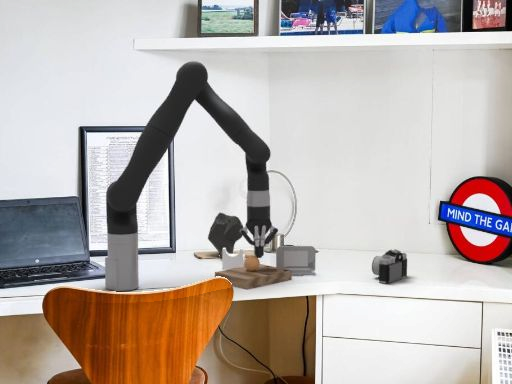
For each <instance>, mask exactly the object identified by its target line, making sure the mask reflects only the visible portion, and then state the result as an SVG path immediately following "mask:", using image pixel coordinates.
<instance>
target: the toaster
mask: <svg viewBox="0 0 512 384" xmlns="http://www.w3.org/2000/svg"><path fill="white" fill-rule="evenodd" d="M275 254H276V255H275V267H277V268H282V269H287V270H292V277H296V276H301V277H302V276H303V277H304V276H316V256H317V255H316V248H315V247H314V246H312V245H280V246H278V247H277V248H276V251H275Z"/></svg>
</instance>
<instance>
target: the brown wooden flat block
mask: <svg viewBox="0 0 512 384" xmlns="http://www.w3.org/2000/svg"><path fill="white" fill-rule="evenodd" d="M216 276H221V277H225V278H227V279H228V280H229V281H230V282H231V283H232V285H233V286H232V287H236V288H241V289H245V290H250V289H255V288H258V287H264V286H269V285H273V284H278V283H283V282H286V281H291V280H292V279H293V278H292V277H293V276H292V270H287V269H282V268H277V267H276V266H272V265H266V264H261V263H260V265H259V268H258V269H257V270H255V271H249V270H247V269H246V268H245V266H243V267H240V268H233V269H229V270H220V271H214V278H215V277H216Z"/></svg>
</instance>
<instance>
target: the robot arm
mask: <svg viewBox="0 0 512 384" xmlns="http://www.w3.org/2000/svg"><path fill="white" fill-rule="evenodd" d="M208 78H209V74H208V69H207V67H205V65H204V64H203V63H201V62H199V61H196V60H195V61H194V60H193V61H188V62H185V63H184V64H182V65H181V66H180V67H179V68H178V70H177V72H176V75H175V81H174V83H173V85H172V87H171V89H170V92H169V93H168V95H167V96H166V98H165V99H164V100H163V102H162V103H161V104H160V105H159V107H158V108H157V109H156V110H155V112H153V114H152V115H151V117H150V119H148V122H147V123H146V125H145V127H144V129H143V130H142V132H141V133H140V135H139V138H138V139H137V141H136V144H135V146H134V149H133V150H132V151H133V152H132V154H131V156H130V160H129V162H128V164H127V165H126V167H125V168H124V170H123V171H122V173H121V174H120V175H119V177H118V178H117V180H115V181H113V182H111V183H110V184H109V186H108V187H107V188H106V189H107V190H106V193H105V197H106V198H105V205H106V207H105V208H106V210H105V211H106V227H107V228H106V230H107V232H106V233H107V234H106V236H107V239H106V240H107V241H106V242H107V256H106V257H105V258H104V268H105V269H104V271H105V272H104V275H105V278H104V279H105V281H104V282H105V286H104V287H105V289H106V290H107V289H108V290H111V291H114V292H121V291H124V292H125V291H126V292H127V291H133V290H135V289H138V288H139V285H140V284H139V282H140V281H139V280H140V279H139V224H138V214H137V208H138V206H137V204H138V202H139V199H140V197H141V195H142V192H143V190H144V188H145V185H146V183H147V181H148V179H149V178H150V175H151V174H152V173H153V171H154V170H155V168H156V167H157V166H158V164H159V163H160V161H161V160H162V158H163V157H164V156H165V154H166V152H167V150H168V149H169V147H170V146H171V144H172V143H173V141H174V139H175V137H176V135H177V133H178V131H179V129H180V127H181V125H182V123H183V121H184V119H185V116H186V114H187V112H188V110H189V109H190V107H191V105H192V104H193V102H194V101H195V102H196V103H198V105H199V106H201V108H203V109H204V110H205V111H206V112H207V113H208V115H210V117H211V118H212V119H213V120H214V121H215V123H216V124H217V125H218V126H219V127H220V129H221V130H222V131H223V132H224V133H225V134H226V135H227V137H228V138H229V139H230V140H231V141H232V142H233V143H234V144H236V145H237V146H239V148H240V149H241V150H242V151H243V152H244V153H245V154H244V160H245V167H246V173H247V174H246V175H247V179H246V180H247V181H246V182H247V183H246V184H247V187H246V188H247V190H246V191H247V193H246V194H247V195H246V202H245V203H246V223H245V226H243V229H240V230H239V232H240V233H241V234H242V237H243V238H244V239H245V240H246V242H247V243H248V244H249V245H251V246H253V255H254V256H256V257H257V258H258V259H261V258H263V257H264V255H265V252H264V251H265V249H264V247H265V246H266V245H269V244H270V243H271V242H272V240H273V239H274V238H275V236H276V235H277V233H278V232H279V229H278V228H277V227H275V226H273V223H272V221H271V195H270V177H269V173H268V172H267V170H268V169H267V162H269V160H270V159H271V153H272V152H271V149H270V147H269V145H268V144H267V143H266V142H265V141H264V140H263V139H262V138H261V137H260V136H259V135H258V134H257V133H256V132H254V131H253V130H252V129H251V127H250V126H249V125H248V123H247V121H245V120H244V118H243V117H242V116H241V115H240V114H239V113H238V112H237V111H236V110H235V109H234V108H232V107H231V106H230V105H229V104H228V103H227V102H226V101H224V100H223V99H222V98H221V97H220V95H218V93H216V92H215V90H214V89H213V88H212V86H211V85H210V83H209V82H208V80H209V79H208ZM268 232H269V234H268V235H267V233H268ZM248 233H250V234H251V235H252V238H253V240H252V238H251V237H250V236H249V234H248ZM266 235H267V236H266Z"/></svg>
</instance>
